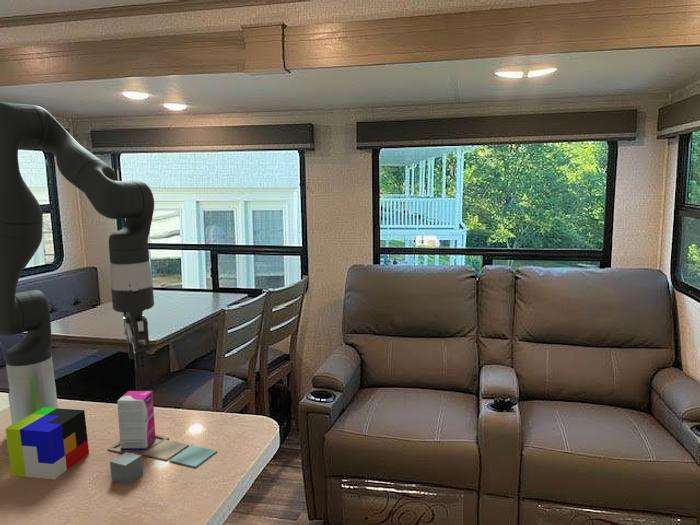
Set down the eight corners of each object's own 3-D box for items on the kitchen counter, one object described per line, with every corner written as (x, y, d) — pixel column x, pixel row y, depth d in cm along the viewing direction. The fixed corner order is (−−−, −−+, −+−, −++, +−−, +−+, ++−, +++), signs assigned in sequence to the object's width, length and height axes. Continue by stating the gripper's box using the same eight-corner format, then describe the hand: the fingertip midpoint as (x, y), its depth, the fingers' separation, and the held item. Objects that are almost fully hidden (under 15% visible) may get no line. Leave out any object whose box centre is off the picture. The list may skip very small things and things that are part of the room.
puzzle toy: (54, 479, 104) (49, 431, 103) (11, 475, 106) (5, 428, 105) (89, 454, 114) (84, 410, 113) (49, 450, 116) (43, 407, 115)
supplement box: (147, 450, 115) (142, 400, 113) (119, 451, 115) (115, 400, 113) (157, 437, 120) (152, 389, 119) (131, 438, 120) (126, 390, 119)
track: (107, 450, 115) (107, 448, 115) (139, 432, 123) (138, 430, 123) (192, 470, 106) (191, 469, 106) (220, 449, 114) (220, 448, 114)
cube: (111, 480, 103) (109, 461, 103) (127, 470, 107) (126, 452, 106) (127, 485, 102) (125, 465, 101) (142, 474, 105) (141, 455, 105)
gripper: (106, 281, 107) (113, 357, 110) (116, 293, 95) (123, 379, 98) (145, 277, 111) (151, 351, 113) (159, 288, 99) (165, 371, 101)
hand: (138, 364), depth 106 cm, fingers open, 8 cm apart
